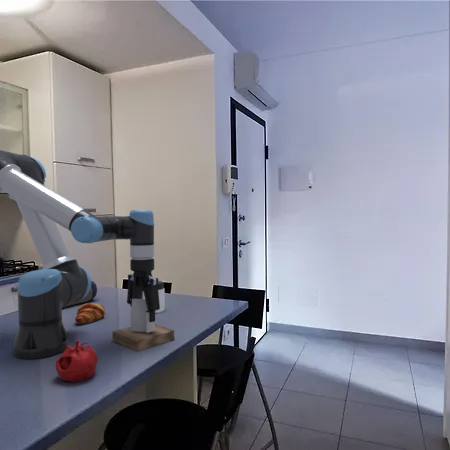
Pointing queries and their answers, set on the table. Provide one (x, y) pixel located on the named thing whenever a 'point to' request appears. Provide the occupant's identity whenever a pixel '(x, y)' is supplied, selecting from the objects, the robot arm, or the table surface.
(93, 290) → the portable speaker
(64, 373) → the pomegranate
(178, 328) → the table surface
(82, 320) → the croissant
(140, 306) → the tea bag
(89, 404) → the table surface
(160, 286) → the jar
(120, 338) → the pedestal
